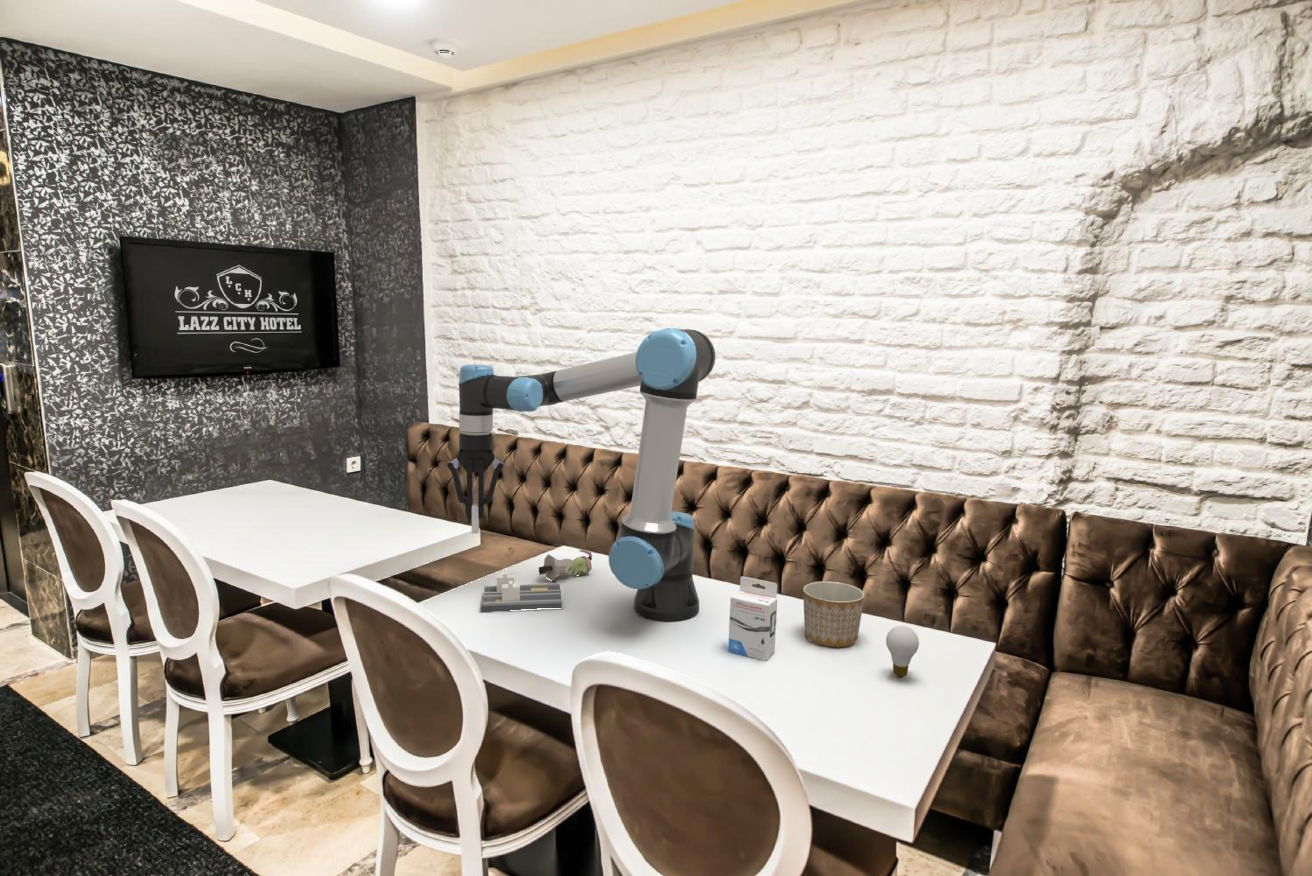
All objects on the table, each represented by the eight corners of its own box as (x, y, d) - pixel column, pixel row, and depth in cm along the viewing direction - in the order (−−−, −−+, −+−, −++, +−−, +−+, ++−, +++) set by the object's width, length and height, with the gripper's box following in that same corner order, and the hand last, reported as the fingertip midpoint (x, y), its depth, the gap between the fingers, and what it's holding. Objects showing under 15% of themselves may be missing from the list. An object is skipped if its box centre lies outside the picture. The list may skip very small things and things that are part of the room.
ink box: (726, 652, 152) (729, 582, 150) (736, 643, 156) (739, 575, 154) (766, 661, 148) (769, 590, 146) (775, 652, 152) (779, 582, 150)
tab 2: (520, 598, 175) (519, 580, 174) (519, 601, 172) (519, 583, 172) (502, 598, 174) (502, 580, 173) (502, 602, 172) (501, 584, 171)
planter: (812, 622, 169) (814, 577, 167) (868, 635, 162) (871, 588, 161) (791, 641, 158) (794, 593, 156) (851, 656, 151) (854, 606, 150)
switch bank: (559, 591, 185) (559, 583, 184) (561, 609, 173) (561, 600, 173) (484, 594, 182) (484, 585, 181) (481, 612, 170) (481, 603, 170)
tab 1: (514, 588, 181) (514, 570, 181) (513, 591, 179) (513, 574, 178) (497, 588, 181) (497, 571, 180) (496, 592, 178) (496, 574, 178)
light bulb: (890, 667, 147) (894, 618, 145) (920, 676, 143) (924, 626, 141) (878, 677, 142) (882, 627, 141) (909, 687, 138) (913, 635, 137)
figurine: (550, 582, 186) (602, 575, 195) (547, 552, 188) (598, 546, 196) (535, 585, 193) (586, 578, 202) (532, 556, 195) (583, 550, 203)
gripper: (505, 430, 177) (504, 527, 181) (448, 429, 175) (448, 527, 179) (504, 435, 170) (503, 536, 174) (444, 434, 168) (444, 536, 171)
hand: (475, 531), depth 176 cm, fingers closed
